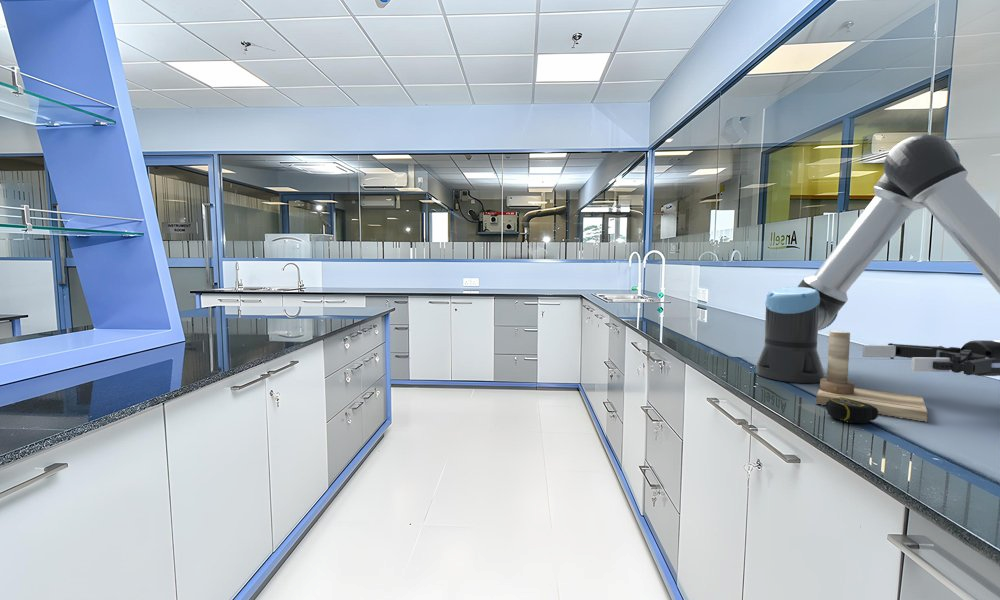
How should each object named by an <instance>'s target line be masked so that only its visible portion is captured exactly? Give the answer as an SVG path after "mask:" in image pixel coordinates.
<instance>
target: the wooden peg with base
mask: <svg viewBox="0 0 1000 600" xmlns="http://www.w3.org/2000/svg"><path fill="white" fill-rule="evenodd" d="M828 336H829V337H828V351H827V353H828V355H827V370H826V371H827V372H826V373H827V374H826V377H824V378H822V379H820V382H819V389H821V390H823V391H826V392H830V393H835V394H853V393H854V388H855V383H854V382H853V381H850V380H848V378H849V364H850V363H849V361H850V344H851V343H850V342H851V332H848V331H840V330H839V331H838V330H829V333H828Z"/></svg>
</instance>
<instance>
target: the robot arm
mask: <svg viewBox="0 0 1000 600" xmlns="http://www.w3.org/2000/svg"><path fill="white" fill-rule="evenodd" d="M883 171H884V172H883V174H882V175H881V177H880V178H879V179H878V180H877V182H876V183H875V184H874V186H873V190H874V197H873V198H872V200H871V201H870V202H869V203H868V205H867V206H866V207H865V209H864V210H863V211H861V214H860V215H859V216H858V218H857V219H856V220H855V221H854V222H853V224H852V225H851V226H850V227H849V230H847V232H845V234H844V236H843V237H842V238H841V240H840V241H839V242H838V243H837V245H836V246H835V247H834V248H833V249H832V251H831V253H829V255H828V256H827V257H826V259H825V260H824V262H823V263H822V264H821V265H820V267H819V268H818V269H817V270H816V271H815V273H814V274H813V275H812V276H807V277H806V276H805V277H804V278H803V279H802V280H801V281H800V282H799V284H798V285H797V286H790V287H789V286H787V287H778V288H773V289H771V290H769V291H768V292H767V294H766V300H765V322H764V323H765V324H764V325H765V327H764V346H763V349H762V351H761V353H760V356H759V358H758V360H757V363H756V366H755V373H756V374H757V375H758V376H760V377H763V378H766V379H770V380H775V381H780V382H785V383H786V382H787V383H797V384H817V383H820V379H822V378H825V371H824V366H823V365H822V361H821V358H820V355H819V353H818V336H819V335H818V334H819V331H822V330H824V329H826V328H828V327H829V326H831V325H832V324H833V323H834V322H835V321H836V319H837V317H838V313H839V312H840V310H841V309H842V308H843V307H844V306H845V304H846V303H847V302H848V300H849V298H848V295H847V294H848V293H847V292H848V291H849V289H850V288H851V287H852V285H853V284H854V283H855V282H856V281H857V280H858V279H859V277H860V276H861V275H862V274H863V272H864V271H866V269H867V268H868V267H869V265H870V264H871V263H872V262H873V260H874V259H875V258H876V257H877V256H878V255H879V254H880V252H881V251H882V249H884V247H885V246H886V245H887V244H888V242H890V240H891V238H893V236H894V235H895V234H896V233H897V232H898V230H899V229H900V228H901V226H902V225H903V224H904V223H905V222H906V221H907V219H908V218H909V217H910V216H911V215H912V213H913V212H915V211H916V210H917V211H918V210H920V209H924V208H926V209H927V210H928V212H929V213H930V214H931V215H932V216H933V217H934V219H935V220H936V221H937V222H938V223H939V224H940V226H941V227H942V228H943V229H944V231H945V232H946V233H947V234H948V235H949V236H950V238H952V240H953V241H954V242H955V243H956V245H957V246H958V247H959V248H960V249H961V251H962V252H963V253H964V254H965V255H966V257H967V258H968V259H969V260H970V261H971V262H972V263H973V265H975V267H976V268H977V269H978V270H979V272H980V273H981V274H982V275H983V277H984V278H985V279H986V280H987V281H988V283H989V284H991V286H992V287H993V288H994V289H995V291H996V292H997V293H998V294H999V295H1000V216H999V215H998V213H996V211H995V210H994V209H993V208H992V207H991V206H990V205H989V203H988V202H986V201H985V199H984V198H983V197H982V196H981V194H979V193H978V191H977V190H976V189H975V187H974V186H973V185H971V184H970V182H968V180H967V177H968V174H969V171H968V170H967V169H966V167H964V165H963V164H961V160H960V155H959V154H958V152H957V151H956V149H954V146H953V145H952V144H951V143H950V142H949V141H948V140H947V139H945V138H943V137H942V136H940V135H935V134H919V135H918V134H917V135H914V136H909V137H907V138H905V139H903V140H901V141H900V142H898V143H897V144H895V146H893V147H892V148H891V150H889V152H888V153H887V155H886V157H885V159H884V162H883ZM861 356H862V357H863V358H889V359H890V360H894V359H895V358H896V357H899V358H909V359H911V363H910V372H911V371H912V372H929V373H930V372H933V373H934V372H936V373H937V372H939V373H941V372H943V373H947V372H948V373H950V371H951V372H952V373H954V374H959V373H962V372H963V375H965V376H972V375H973V376H977V377H1000V340H999V339H997V340H996V339H995V340H994V339H993V340H978V339H976V340H971V341H968V342H966V343H964V344H963V345H962V347H958V346H957V347H955V346H950V347H945V346H943V345H939V346H937V345H936V346H935V345H934V346H933V345H919V344H918V345H917V344H915V345H913V344H901V343H900V344H899V343H893V342H891V343H887V345H886V344H885V345H883V344H879V345H878V344H869V345H868V344H863V345H862V355H861Z"/></svg>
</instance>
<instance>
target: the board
mask: <svg viewBox="0 0 1000 600" xmlns="http://www.w3.org/2000/svg"><path fill="white" fill-rule="evenodd" d="M840 397H843V398H847V399H851V400H855V401H859V402H862V403H866V404H869V405H871V406H873V407H875V408H877V410H878V414H882V415H881V416H884V415H888V416H887V417H890V416H895V417H894V418H896V417H902V418H907V419H906V420H908V419H914V420H919V421H918V422H920V421H925V422H924V423H928V409H927V407H926V404H925V401H924V398H923V397H922V396H916V395H910V394H909V395H908V394H903V393H893V392H888V391H881V390H872V389H867V388H866V389H865V388H857V387H854V393H853V394H835V393H830V392H826V391H823V390H821V389H820V388H819V389H818V392H817V393H816V401H815V404H816V405H817V404H821V405H820V406H823V405H826V403H827V401H829V399H831V398H840ZM902 418H901V419H902ZM914 420H913V421H914Z"/></svg>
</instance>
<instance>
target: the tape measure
mask: <svg viewBox="0 0 1000 600" xmlns="http://www.w3.org/2000/svg"><path fill="white" fill-rule="evenodd" d="M825 409H826V410H827V411H826V412H827V415H829V416H830V417H832V418H834V419H836V420H839V419H840V420H839V421H841V420H844V421H843V422H845V421H848V422H850V423H855V424H857V423H858V424H867V423H869V422H871V421H874V420H876V419H877V418H878V417H879V415H878V410H877V408H875V407H873V406H871V405H869V404H866V403H862V402H859V401H855V400H851V399H847V398H843V397H840V398H831V399H829V401H827V403H826V406H825ZM848 422H847V423H848Z"/></svg>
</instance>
